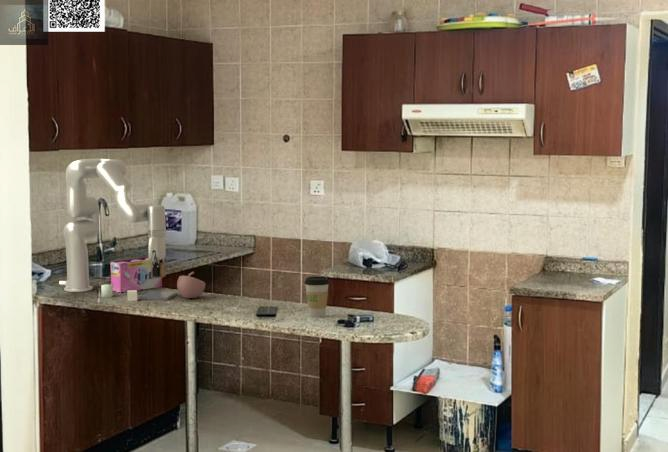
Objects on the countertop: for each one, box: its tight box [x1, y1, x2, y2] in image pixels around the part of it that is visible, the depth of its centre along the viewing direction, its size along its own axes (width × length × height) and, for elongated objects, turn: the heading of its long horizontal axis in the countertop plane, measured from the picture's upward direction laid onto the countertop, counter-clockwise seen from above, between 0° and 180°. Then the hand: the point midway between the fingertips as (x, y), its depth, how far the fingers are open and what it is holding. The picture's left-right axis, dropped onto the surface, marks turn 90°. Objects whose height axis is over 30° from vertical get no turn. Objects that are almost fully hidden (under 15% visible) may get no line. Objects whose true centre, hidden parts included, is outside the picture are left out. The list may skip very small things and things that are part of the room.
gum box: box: [110, 256, 163, 294], centre depth 449 cm, size 24×8×14 cm, turn 136°
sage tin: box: [100, 283, 114, 299], centre depth 431 cm, size 5×5×5 cm
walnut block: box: [151, 261, 167, 279], centre depth 427 cm, size 5×5×6 cm
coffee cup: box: [304, 276, 330, 319], centre depth 386 cm, size 10×10×15 cm
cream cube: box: [126, 290, 138, 302], centre depth 422 cm, size 4×4×4 cm
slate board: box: [139, 290, 178, 301], centre depth 429 cm, size 12×14×1 cm
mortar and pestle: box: [176, 271, 206, 299], centre depth 425 cm, size 12×12×11 cm
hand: (158, 274), depth 428 cm, fingers closed on walnut block, 5 cm apart
